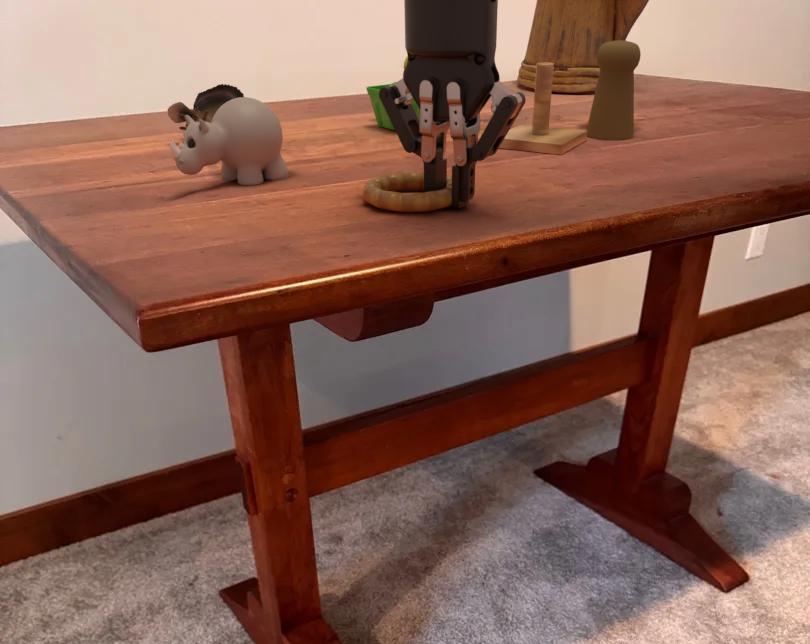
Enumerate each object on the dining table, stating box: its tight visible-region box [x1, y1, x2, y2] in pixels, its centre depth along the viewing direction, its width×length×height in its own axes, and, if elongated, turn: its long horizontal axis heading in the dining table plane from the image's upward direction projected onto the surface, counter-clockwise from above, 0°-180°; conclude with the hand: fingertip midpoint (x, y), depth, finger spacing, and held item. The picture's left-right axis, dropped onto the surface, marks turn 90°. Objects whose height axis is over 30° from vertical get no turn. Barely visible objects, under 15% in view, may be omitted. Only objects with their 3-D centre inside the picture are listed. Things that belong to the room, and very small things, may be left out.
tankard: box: [516, 0, 650, 94], centre depth 130 cm, size 18×24×25 cm
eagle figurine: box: [166, 83, 245, 132], centre depth 101 cm, size 8×7×9 cm
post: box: [498, 62, 588, 156], centre depth 96 cm, size 9×9×9 cm
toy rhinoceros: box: [170, 96, 290, 186], centre depth 80 cm, size 7×12×8 cm, turn 129°
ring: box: [362, 170, 452, 213], centre depth 74 cm, size 9×9×2 cm
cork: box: [585, 40, 642, 141], centre depth 100 cm, size 6×6×11 cm
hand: (449, 203), depth 72 cm, fingers closed on ring, 2 cm apart
